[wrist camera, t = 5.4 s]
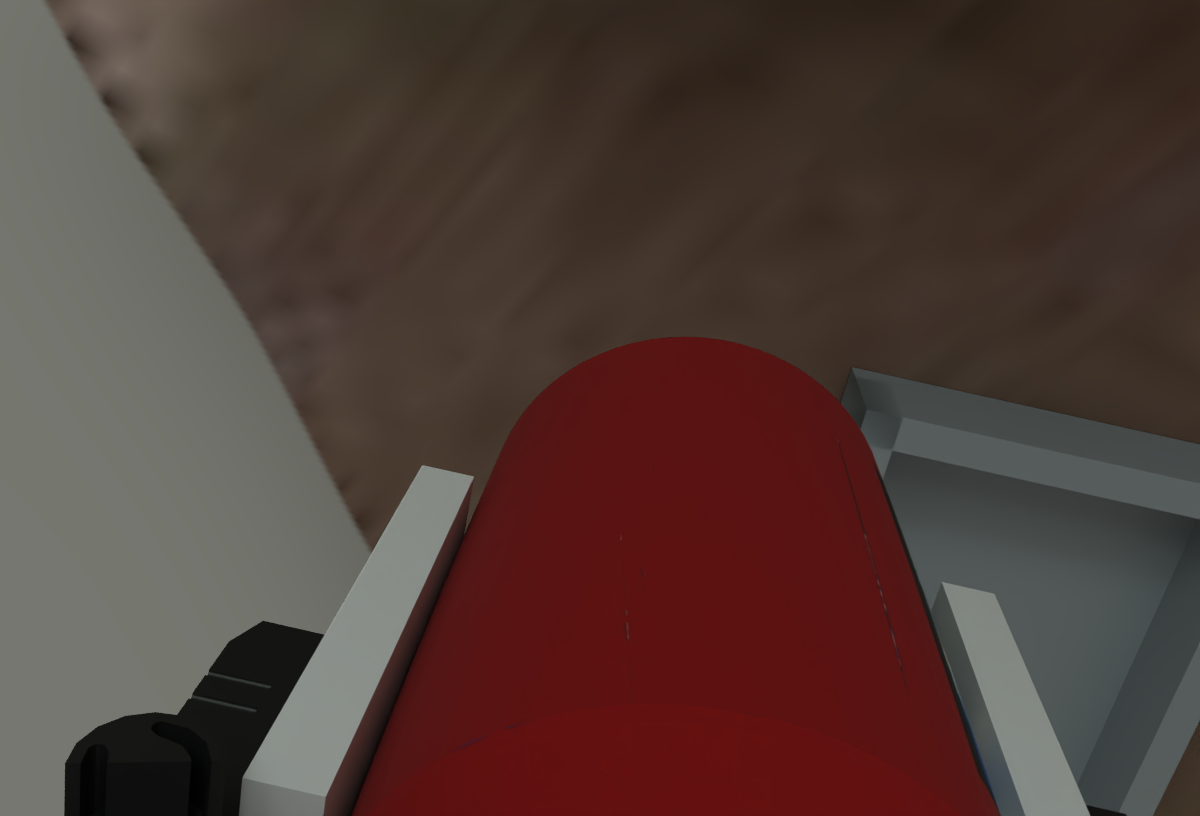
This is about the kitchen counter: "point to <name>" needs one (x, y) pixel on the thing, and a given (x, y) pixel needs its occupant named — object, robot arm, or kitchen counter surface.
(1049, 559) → the tray
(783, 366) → the beverage can
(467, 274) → the kitchen counter surface
